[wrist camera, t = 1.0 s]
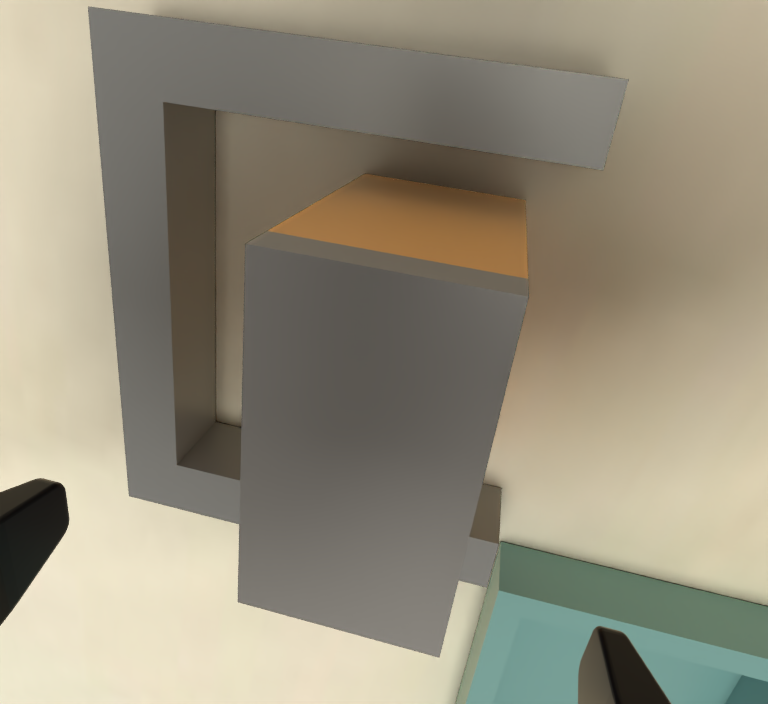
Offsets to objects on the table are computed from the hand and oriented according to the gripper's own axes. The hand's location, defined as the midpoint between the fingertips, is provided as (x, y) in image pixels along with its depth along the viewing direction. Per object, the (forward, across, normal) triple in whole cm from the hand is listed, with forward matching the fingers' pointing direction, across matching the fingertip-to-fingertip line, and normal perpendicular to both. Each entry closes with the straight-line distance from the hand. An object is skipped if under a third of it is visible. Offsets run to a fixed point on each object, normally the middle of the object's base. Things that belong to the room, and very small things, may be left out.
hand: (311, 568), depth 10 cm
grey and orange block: (+12, 0, 0) cm, 12 cm away
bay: (+12, +3, 0) cm, 12 cm away
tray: (+12, -10, +16) cm, 22 cm away
